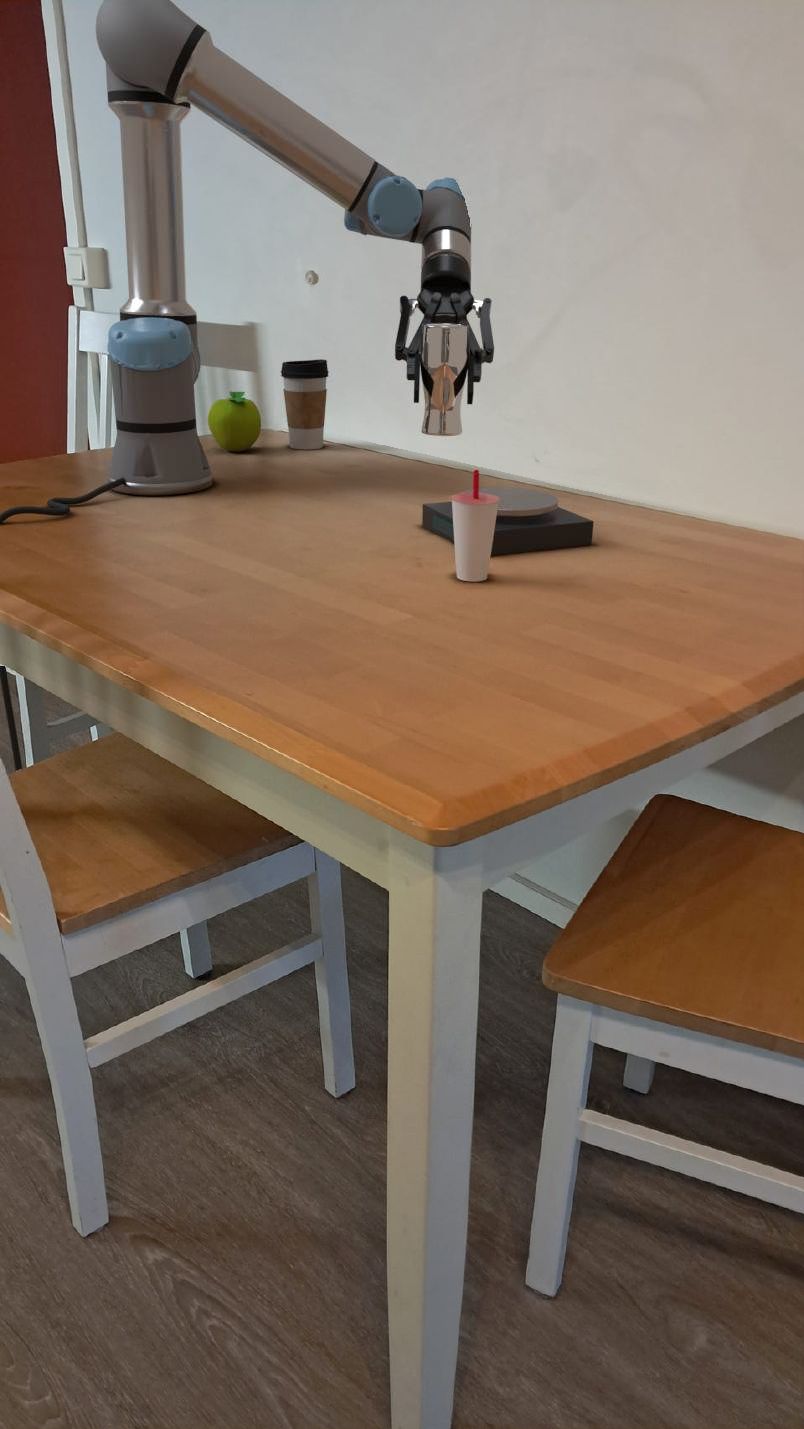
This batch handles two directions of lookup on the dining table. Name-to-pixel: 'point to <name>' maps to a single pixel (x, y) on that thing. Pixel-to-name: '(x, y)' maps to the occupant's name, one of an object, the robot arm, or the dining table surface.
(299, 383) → the coffee cup
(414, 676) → the dining table surface
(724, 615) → the dining table surface
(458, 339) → the beer glass
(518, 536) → the scale
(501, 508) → the scale pan
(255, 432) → the fruit
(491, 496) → the cup
